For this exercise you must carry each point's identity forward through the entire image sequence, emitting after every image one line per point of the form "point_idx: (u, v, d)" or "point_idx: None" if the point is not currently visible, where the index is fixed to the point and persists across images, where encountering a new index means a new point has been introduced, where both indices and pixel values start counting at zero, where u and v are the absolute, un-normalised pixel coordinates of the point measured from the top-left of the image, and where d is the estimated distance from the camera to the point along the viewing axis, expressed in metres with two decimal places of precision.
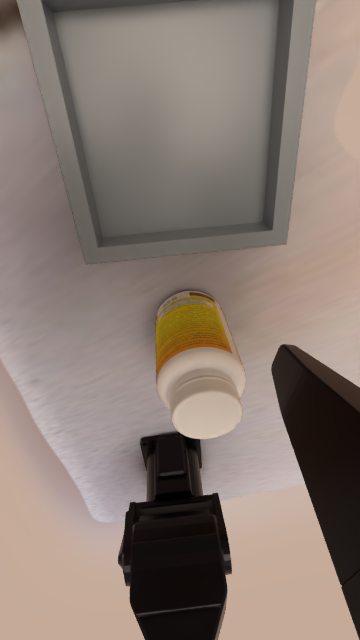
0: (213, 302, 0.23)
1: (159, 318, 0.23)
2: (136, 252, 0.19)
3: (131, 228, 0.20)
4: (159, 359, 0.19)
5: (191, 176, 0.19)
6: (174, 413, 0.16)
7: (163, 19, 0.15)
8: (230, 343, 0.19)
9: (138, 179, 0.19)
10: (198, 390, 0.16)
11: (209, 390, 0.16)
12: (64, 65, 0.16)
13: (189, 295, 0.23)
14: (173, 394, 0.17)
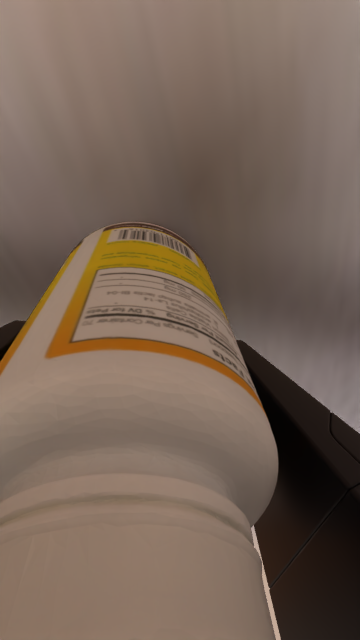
0: (76, 249, 0.09)
1: None
2: None
3: None
4: None
5: None
6: None
7: None
8: (34, 328, 0.05)
9: None
10: None
11: None
12: None
13: None
14: None
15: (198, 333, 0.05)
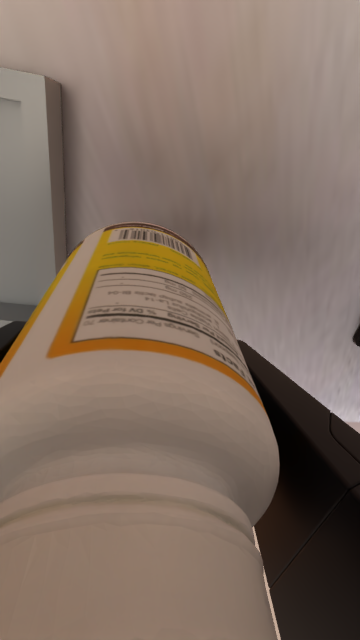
0: (77, 249, 0.09)
1: None
2: None
3: None
4: None
5: None
6: None
7: None
8: (36, 328, 0.05)
9: None
10: None
11: None
12: None
13: None
14: None
15: (198, 333, 0.05)
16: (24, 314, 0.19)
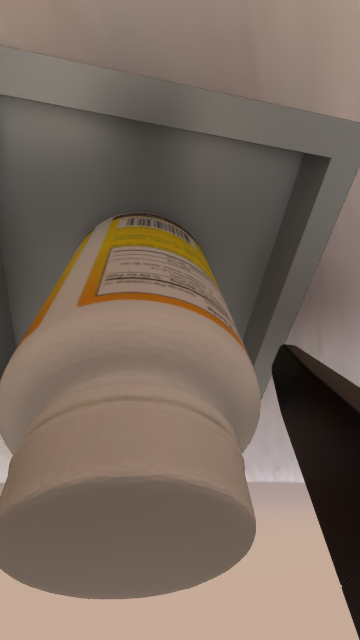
0: (88, 235, 0.11)
1: None
2: (263, 371, 0.14)
3: None
4: None
5: None
6: (84, 597, 0.05)
7: (18, 265, 0.13)
8: (63, 291, 0.07)
9: None
10: None
11: None
12: None
13: None
14: None
15: (195, 294, 0.06)
16: None
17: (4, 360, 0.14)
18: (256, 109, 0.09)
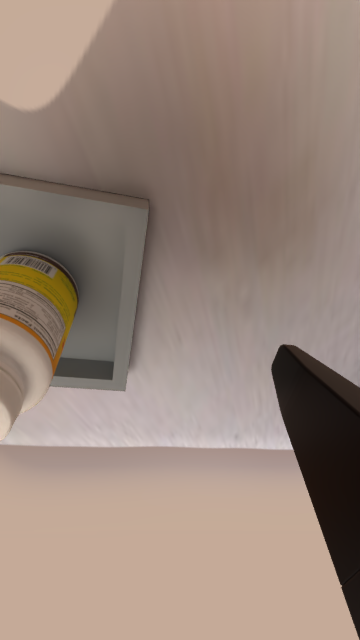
0: None
1: None
2: (123, 355, 0.21)
3: (111, 339, 0.22)
4: None
5: None
6: None
7: None
8: None
9: None
10: None
11: None
12: None
13: None
14: None
15: (11, 308, 0.13)
16: (96, 370, 0.22)
17: None
18: (73, 201, 0.15)
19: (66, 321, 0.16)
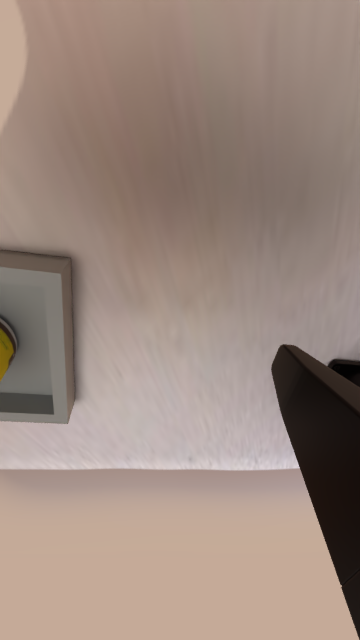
0: None
1: None
2: (60, 393, 0.23)
3: None
4: None
5: None
6: None
7: None
8: None
9: (13, 365, 0.23)
10: None
11: None
12: None
13: None
14: None
15: None
16: (40, 405, 0.24)
17: None
18: None
19: None
